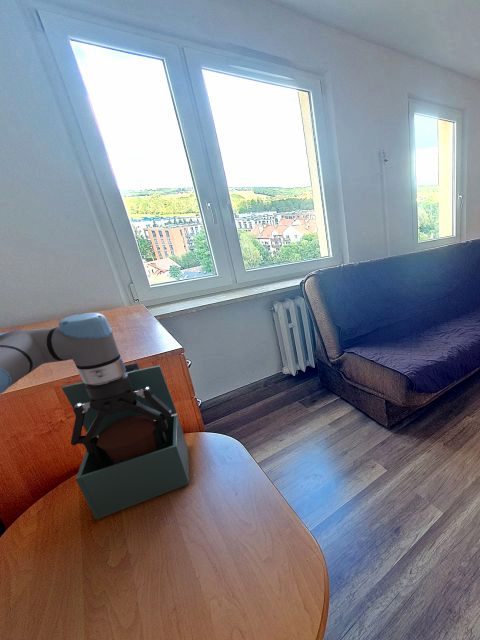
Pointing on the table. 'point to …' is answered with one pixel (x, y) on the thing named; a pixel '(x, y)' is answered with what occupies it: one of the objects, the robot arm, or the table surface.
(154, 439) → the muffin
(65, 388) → the lid
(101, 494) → the chest
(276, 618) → the table surface
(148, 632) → the table surface
